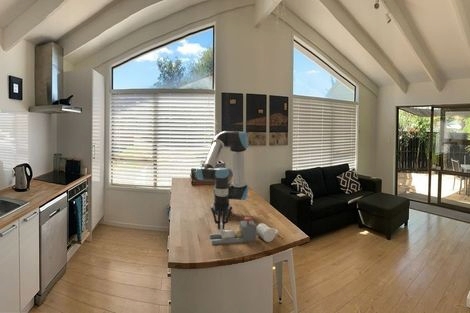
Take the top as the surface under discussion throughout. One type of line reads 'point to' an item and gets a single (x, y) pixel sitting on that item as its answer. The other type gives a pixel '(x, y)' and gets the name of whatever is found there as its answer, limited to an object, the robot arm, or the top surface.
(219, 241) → the valve rig
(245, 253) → the top surface
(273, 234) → the mug
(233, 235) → the fitting
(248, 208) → the top surface
